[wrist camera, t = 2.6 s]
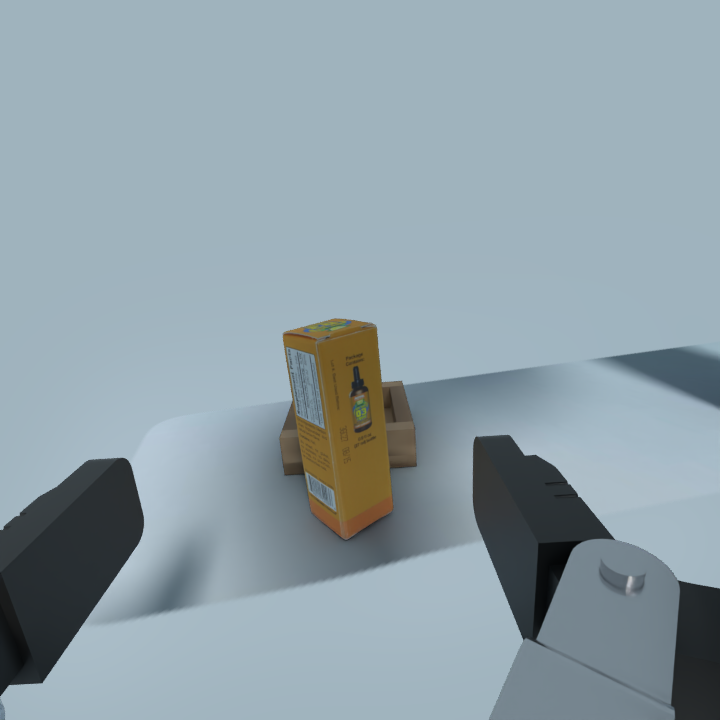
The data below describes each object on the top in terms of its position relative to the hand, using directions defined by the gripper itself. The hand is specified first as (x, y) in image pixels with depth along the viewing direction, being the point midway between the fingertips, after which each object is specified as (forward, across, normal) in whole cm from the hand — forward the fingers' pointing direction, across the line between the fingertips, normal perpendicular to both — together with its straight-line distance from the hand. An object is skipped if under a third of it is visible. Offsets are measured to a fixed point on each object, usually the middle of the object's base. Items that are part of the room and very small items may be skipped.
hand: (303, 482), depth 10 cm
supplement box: (+10, 0, +9) cm, 14 cm away
